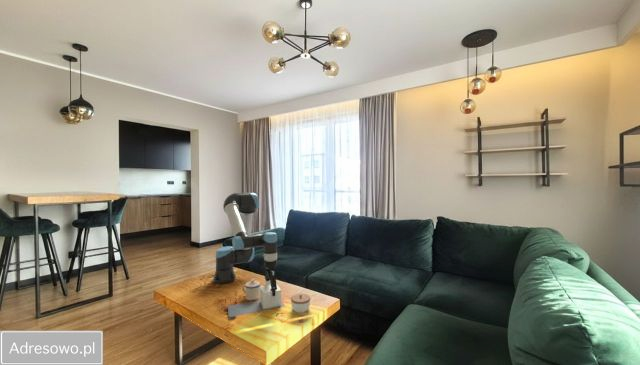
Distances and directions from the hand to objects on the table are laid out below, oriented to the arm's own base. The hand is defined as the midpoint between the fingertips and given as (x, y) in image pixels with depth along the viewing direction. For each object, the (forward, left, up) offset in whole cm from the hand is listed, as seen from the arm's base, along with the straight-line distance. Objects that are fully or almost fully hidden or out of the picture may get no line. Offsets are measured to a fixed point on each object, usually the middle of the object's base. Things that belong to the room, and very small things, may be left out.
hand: (270, 296), depth 152 cm
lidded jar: (+13, +14, -6) cm, 20 cm away
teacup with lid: (-14, -9, -6) cm, 18 cm away
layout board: (0, -8, -5) cm, 10 cm away
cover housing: (0, 0, -4) cm, 4 cm away
